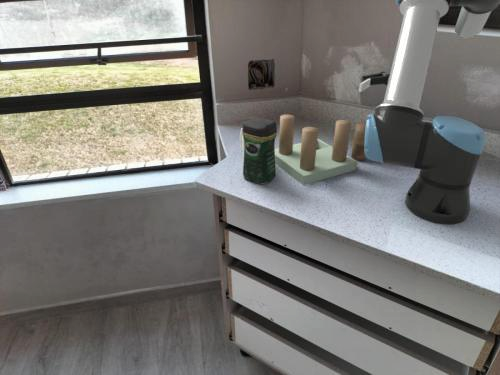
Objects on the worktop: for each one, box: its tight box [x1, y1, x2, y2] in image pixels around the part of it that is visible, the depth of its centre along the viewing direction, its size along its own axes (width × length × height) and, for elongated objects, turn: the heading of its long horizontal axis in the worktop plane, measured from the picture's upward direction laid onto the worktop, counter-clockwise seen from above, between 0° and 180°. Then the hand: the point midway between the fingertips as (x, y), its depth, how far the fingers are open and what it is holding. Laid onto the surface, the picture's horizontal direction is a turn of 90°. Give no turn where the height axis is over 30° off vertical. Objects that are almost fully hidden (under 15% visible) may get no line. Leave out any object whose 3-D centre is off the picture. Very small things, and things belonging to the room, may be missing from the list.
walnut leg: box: [350, 121, 366, 163], centre depth 119 cm, size 4×4×12 cm
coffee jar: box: [242, 115, 278, 185], centre depth 106 cm, size 10×8×19 cm
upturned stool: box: [275, 113, 358, 186], centre depth 115 cm, size 20×20×15 cm
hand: (379, 92), depth 117 cm, fingers open, 13 cm apart
